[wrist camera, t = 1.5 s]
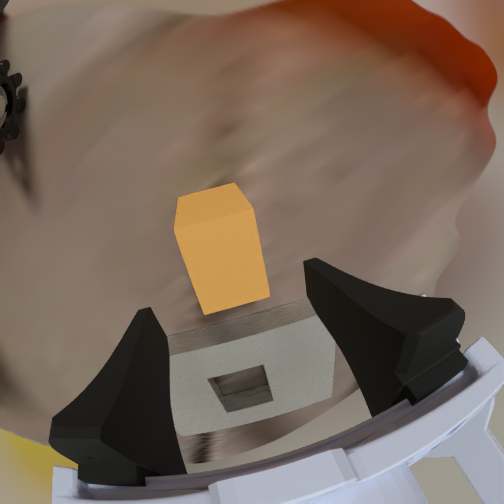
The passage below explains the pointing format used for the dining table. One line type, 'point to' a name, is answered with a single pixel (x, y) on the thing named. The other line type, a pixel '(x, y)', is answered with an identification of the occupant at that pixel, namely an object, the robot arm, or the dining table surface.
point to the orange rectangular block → (221, 248)
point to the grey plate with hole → (247, 356)
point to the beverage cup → (3, 4)
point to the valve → (9, 104)
